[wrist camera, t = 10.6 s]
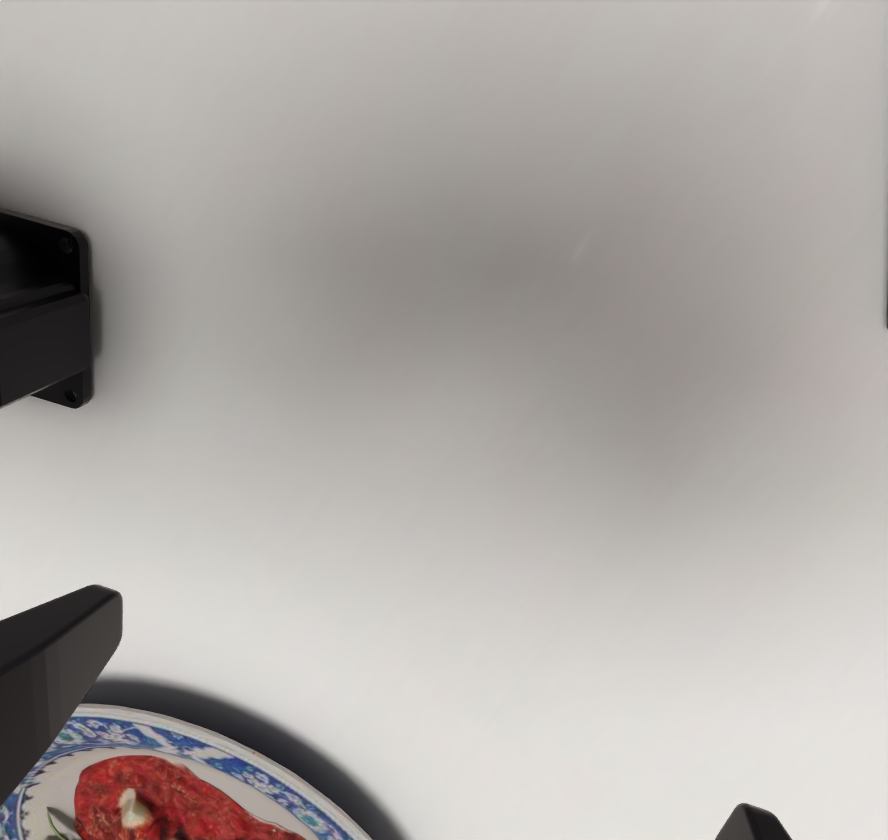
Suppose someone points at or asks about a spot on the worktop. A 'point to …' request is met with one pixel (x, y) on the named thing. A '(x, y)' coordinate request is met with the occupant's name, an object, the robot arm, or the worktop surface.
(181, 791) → the ceramic plate
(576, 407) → the worktop surface
